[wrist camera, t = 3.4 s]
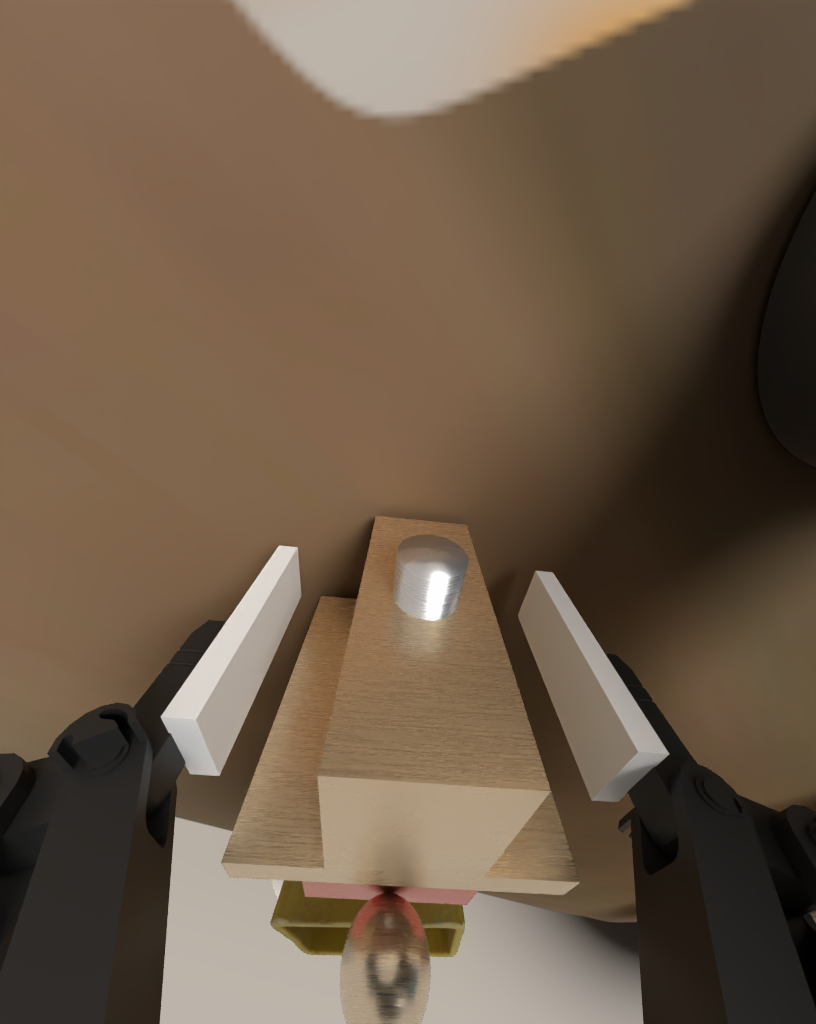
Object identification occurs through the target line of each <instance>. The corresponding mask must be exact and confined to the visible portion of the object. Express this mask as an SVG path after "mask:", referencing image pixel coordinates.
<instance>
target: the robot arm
mask: <svg viewBox="0 0 816 1024" xmlns="http://www.w3.org/2000/svg"><path fill="white" fill-rule="evenodd" d="M758 386H759V394H760V400H761V404H762V408H763V411H764V414H765V417H766V420H767V422H768V424H769V426H770V428H771V430H772V432H773V433H774V435H775V436H776V438H777V439H778V441H779V442H780V443H781V444H782V445H783V446H784V447H785V448H786V449H787V450H788V451H789V452H790V453H791V454H793V455H794V456H795V457H797V458H798V459H800V460H801V461H803V462H805V463H807V464H809V465H811V466H813V467H815V468H816V191H815V193H814V195H813V197H812V199H811V201H810V202H809V204H808V206H807V208H806V210H805V212H804V214H803V216H802V218H801V220H800V222H799V224H798V226H797V229H796V231H795V233H794V235H793V237H792V239H791V241H790V244H789V246H788V248H787V251H786V253H785V256H784V258H783V261H782V263H781V266H780V268H779V271H778V274H777V277H776V280H775V282H774V285H773V288H772V291H771V295H770V298H769V302H768V305H767V309H766V312H765V317H764V322H763V326H762V331H761V337H760V345H759V353H758ZM300 598H301V584H300V571H299V558H298V547H289V546H279V547H278V548H277V549H276V551H275V552H274V554H273V555H272V557H271V558H270V560H269V561H268V562H267V564H266V565H265V567H264V568H263V570H262V571H261V573H260V574H259V575H258V577H257V578H256V580H255V581H254V583H253V584H252V586H251V587H250V588H249V590H248V591H247V593H246V594H245V596H244V597H243V599H242V600H241V601H240V603H239V604H238V606H237V607H236V609H235V610H234V612H233V613H232V614H231V616H230V617H229V619H228V620H227V622H223V621H211V620H209V621H207V622H206V623H205V624H203V625H202V626H201V627H199V628H198V629H197V630H195V631H194V632H193V633H192V634H191V635H190V636H189V638H188V639H187V640H186V641H185V643H184V644H183V645H182V647H181V648H180V651H178V652H177V653H176V654H175V655H174V657H173V658H172V659H171V660H170V663H169V664H167V666H166V667H165V668H164V669H163V671H162V672H161V673H160V674H159V676H158V677H157V678H156V680H155V681H154V682H153V683H152V685H151V686H150V687H149V688H148V690H147V691H146V692H145V694H144V695H143V696H142V697H141V699H140V700H139V701H138V702H137V704H136V705H135V706H134V708H132V707H131V706H130V705H129V704H122V703H114V704H109V705H104V706H101V707H99V708H97V709H95V710H93V711H90V712H88V713H86V714H85V715H83V716H82V717H80V718H79V719H77V720H76V721H75V722H73V723H72V724H70V725H69V726H68V727H67V728H66V729H65V730H64V731H63V732H62V733H61V734H60V735H59V736H58V737H57V738H56V740H55V741H54V743H53V745H52V746H51V748H50V750H49V751H48V753H47V754H48V755H49V756H50V757H47V758H43V759H39V760H35V761H31V762H28V763H26V762H25V761H24V760H23V759H22V758H21V757H19V756H18V755H16V754H15V753H12V754H0V1024H159V1023H160V1010H161V996H162V983H163V968H164V955H165V943H166V928H167V916H168V902H169V889H170V876H171V863H172V849H173V835H174V821H175V809H176V796H177V787H176V779H177V777H178V776H179V774H180V772H181V770H182V768H183V767H184V765H185V766H186V767H187V769H188V771H189V773H190V774H196V775H211V776H220V774H221V771H222V769H223V767H224V765H225V763H226V760H227V758H228V756H229V754H230V752H231V749H232V747H233V745H234V743H235V741H236V738H237V736H238V734H239V732H240V730H241V727H242V725H243V723H244V721H245V719H246V717H247V714H248V712H249V710H250V708H251V706H252V703H253V701H254V699H255V697H256V695H257V692H258V690H259V688H260V686H261V684H262V681H263V679H264V677H265V675H266V673H267V671H268V668H269V666H270V664H271V662H272V660H273V657H274V655H275V653H276V651H277V649H278V646H279V644H280V642H281V640H282V638H283V635H284V633H285V631H286V629H287V627H288V625H289V622H290V620H291V618H292V616H293V614H294V611H295V609H296V607H297V605H298V603H299V600H300ZM518 618H519V621H520V623H521V626H522V628H523V631H524V633H525V636H526V638H527V641H528V643H529V646H530V648H531V651H532V653H533V656H534V658H535V661H536V663H537V666H538V668H539V671H540V673H541V676H542V678H543V681H544V683H545V686H546V688H547V691H548V693H549V696H550V698H551V701H552V703H553V706H554V708H555V710H556V713H557V715H558V718H559V720H560V723H561V725H562V728H563V730H564V733H565V735H566V738H567V740H568V743H569V745H570V748H571V750H572V753H573V755H574V758H575V760H576V763H577V765H578V768H579V770H580V773H581V775H582V778H583V780H584V783H585V785H586V788H587V790H588V793H589V795H590V798H591V800H592V801H607V802H619V801H620V800H621V799H622V798H623V797H624V796H625V795H626V794H627V793H628V794H629V796H630V798H631V800H632V802H633V804H634V806H635V808H633V809H632V810H631V811H630V812H629V813H628V814H626V815H625V816H624V817H623V818H622V819H621V820H620V821H619V826H618V830H620V831H621V832H624V831H625V830H626V829H627V828H629V827H630V826H631V834H630V835H629V837H630V838H632V848H633V864H634V880H635V896H636V911H637V927H638V942H639V959H640V974H641V990H642V1005H643V1021H644V1024H816V923H815V921H814V920H813V918H812V916H811V915H810V914H811V913H814V912H816V812H814V811H812V810H810V809H808V808H806V807H804V806H798V805H792V806H790V807H788V808H786V809H785V810H783V811H781V812H778V811H775V810H773V809H771V808H768V807H766V806H763V805H761V804H759V803H756V802H754V801H751V800H749V799H747V798H744V797H742V796H739V795H737V793H736V792H735V791H734V789H733V788H732V787H730V786H729V785H728V784H727V783H726V782H725V781H724V780H723V779H722V778H721V777H720V776H718V775H717V774H715V773H714V772H712V771H711V770H709V769H708V768H706V767H703V766H701V765H698V764H697V762H696V761H695V760H694V759H693V757H692V756H691V755H690V753H689V752H688V750H687V749H686V747H685V746H684V745H683V743H682V742H681V740H680V739H679V737H678V736H677V734H676V733H675V732H674V730H673V729H672V727H671V726H670V724H669V723H668V722H667V720H666V719H665V717H664V716H663V714H662V713H661V711H660V710H659V709H658V707H657V706H656V704H655V703H653V702H652V698H651V697H650V696H649V694H648V693H647V691H646V690H645V689H643V687H642V684H641V683H640V681H639V680H638V678H637V677H636V675H635V674H634V672H633V671H632V670H631V668H629V667H628V666H627V665H626V664H625V663H624V662H623V661H622V660H621V659H620V658H619V657H618V656H617V655H613V654H605V653H604V651H603V650H602V648H601V647H600V645H599V644H598V642H597V640H596V639H595V637H594V636H593V634H592V633H591V631H590V630H589V628H588V626H587V625H586V623H585V622H584V620H583V619H582V617H581V615H580V614H579V612H578V611H577V609H576V608H575V606H574V605H573V603H572V601H571V600H570V598H569V597H568V595H567V594H566V592H565V591H564V589H563V587H562V586H561V584H560V583H559V581H558V580H557V578H556V577H555V575H554V573H553V572H545V571H535V573H534V576H533V578H532V581H531V583H530V586H529V588H528V591H527V593H526V596H525V598H524V601H523V603H522V606H521V608H520V611H519V613H518Z"/></svg>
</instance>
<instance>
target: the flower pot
mask: <svg viewBox="0 0 816 1024" xmlns="http://www.w3.org/2000/svg"><path fill="white" fill-rule="evenodd" d="M368 901H369V900H360V899H340V898H320V897H305V894H304V889H303V884H302V881H289V880H284V881H283V884H282V888H281V891H280V894H279V897H278V901H277V904H276V907H275V910H274V913H273V917H272V919H271V926H272V927H273V928H274V929H275V930H276V931H278V932H280V933H281V934H283V935H284V936H285V937H286V938H288V939H290V940H291V941H293V942H294V943H295V945H296V946H297V947H298V948H299V949H300V950H301V951H303V952H304V953H306V954H310V955H342V953H343V949H344V944H345V941H346V938H347V935H348V932H349V929H350V927H351V924H352V923H353V921H354V919H355V917H356V915H357V914H358V912H359V911H360V909H361V908H362V907H363V906H364V905H365V904H366V903H367V902H368ZM409 903H410V904H411V905H412V906H413V908H414V909H415V911H416V912H417V914H418V916H419V918H420V920H421V922H422V924H423V927H424V930H425V933H426V937H427V941H428V946H429V953H430V957H431V956H432V957H453V956H454V955H455V954H456V953H457V951H458V948H459V945H460V941H461V939H462V935H463V933H464V929H465V921H464V913H463V907H462V905H458V904H438V903H418V902H409Z"/></svg>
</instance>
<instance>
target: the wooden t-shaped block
mask: <svg viewBox="0 0 816 1024" xmlns="http://www.w3.org/2000/svg"><path fill="white" fill-rule="evenodd" d="M221 864H222V865H223V867H224V869H225V871H226V872H227V874H228V875H229V877H233V878H252V879H271V880H289V881H302V884H303V889H304V894H305V897H320V898H340V899H360V900H369V901H368V902H367V903H366V904H365V905H364V906H363V907H362V908H361V909H360V911H359V912H358V914H357V915H356V917H355V919H354V921H353V923H352V924H351V927H350V929H349V932H348V935H347V938H346V941H345V944H344V949H343V953H342V960H341V969H340V995H341V1003H342V1008H343V1013H344V1017H345V1020H346V1023H347V1024H421V1022H422V1019H423V1016H424V1013H425V1009H426V1006H427V1001H428V996H429V989H430V976H431V975H430V974H431V972H430V971H431V965H430V953H429V946H428V941H427V937H426V933H425V930H424V927H423V924H422V922H421V920H420V918H419V916H418V914H417V912H416V911H415V909H414V908H413V906H412V905H411V904H410V903H409V902H418V903H438V904H458V905H467V904H468V902H469V901H470V900H471V899H472V898H473V896H474V895H475V894H476V893H477V892H478V891H497V892H516V893H535V894H553V895H564V894H565V893H567V892H568V891H569V890H571V889H572V888H573V887H575V886H576V885H577V884H579V883H580V881H579V877H578V874H577V871H576V868H575V865H574V862H573V858H572V855H571V852H570V849H569V846H568V843H567V840H566V836H565V833H564V830H563V827H562V824H561V821H560V817H559V814H558V811H557V808H556V805H555V802H554V798H553V795H552V792H551V789H550V786H549V783H548V780H547V776H546V773H545V770H544V767H543V764H542V761H541V757H540V754H539V751H538V748H537V745H536V742H535V738H534V735H533V732H532V729H531V726H530V723H529V719H528V716H527V713H526V710H525V707H524V704H523V701H522V697H521V694H520V691H519V688H518V685H517V682H516V678H515V675H514V672H513V669H512V666H511V663H510V659H509V656H508V653H507V650H506V647H505V644H504V641H503V637H502V634H501V631H500V628H499V625H498V622H497V618H496V615H495V612H494V610H493V607H492V604H491V601H490V597H489V594H488V591H487V588H486V585H485V582H484V578H483V575H482V572H481V569H480V566H479V563H478V559H477V556H476V553H475V550H474V547H473V543H472V540H471V537H470V534H469V531H468V528H467V525H461V524H452V523H442V522H432V521H423V520H413V519H403V518H394V517H384V516H376V518H375V522H374V527H373V531H372V536H371V540H370V545H369V549H368V553H367V558H366V562H365V567H364V571H363V576H362V580H361V585H360V589H359V594H358V598H357V599H351V598H340V597H329V596H321V598H320V601H319V603H318V606H317V609H316V611H315V614H314V617H313V619H312V622H311V624H310V627H309V630H308V632H307V635H306V638H305V640H304V643H303V646H302V648H301V651H300V654H299V656H298V659H297V662H296V664H295V667H294V670H293V672H292V675H291V678H290V680H289V683H288V686H287V688H286V691H285V694H284V696H283V699H282V702H281V704H280V707H279V710H278V712H277V715H276V718H275V720H274V723H273V726H272V728H271V731H270V734H269V736H268V739H267V741H266V744H265V747H264V749H263V752H262V755H261V757H260V760H259V763H258V765H257V768H256V771H255V773H254V776H253V779H252V781H251V784H250V787H249V789H248V792H247V795H246V797H245V800H244V803H243V805H242V808H241V811H240V813H239V816H238V819H237V821H236V824H235V827H234V829H233V832H232V835H231V837H230V840H229V843H228V845H227V848H226V851H225V854H224V856H223V859H222V861H221Z"/></svg>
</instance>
